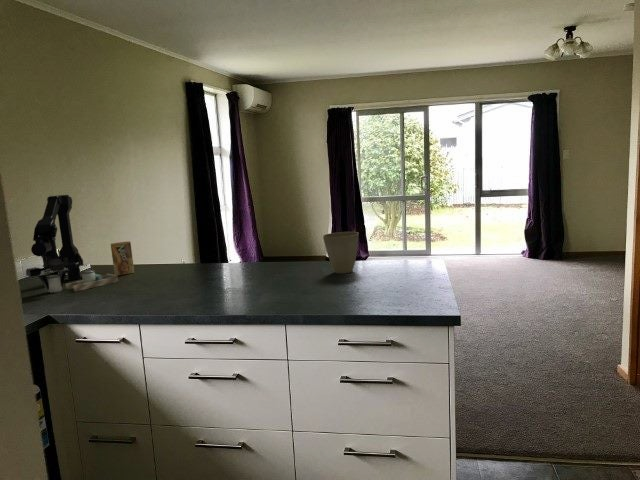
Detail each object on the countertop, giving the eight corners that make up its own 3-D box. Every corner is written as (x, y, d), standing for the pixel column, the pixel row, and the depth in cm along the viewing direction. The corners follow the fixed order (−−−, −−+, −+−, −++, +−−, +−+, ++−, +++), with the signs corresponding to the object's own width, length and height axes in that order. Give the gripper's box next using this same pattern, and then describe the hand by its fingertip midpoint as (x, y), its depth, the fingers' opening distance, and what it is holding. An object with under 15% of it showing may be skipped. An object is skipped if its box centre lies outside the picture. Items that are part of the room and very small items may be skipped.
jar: (46, 291, 222) (44, 276, 221) (59, 289, 226) (56, 274, 225) (51, 293, 219) (48, 277, 218) (63, 290, 222) (61, 275, 221)
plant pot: (362, 267, 224) (360, 230, 222) (359, 275, 210) (356, 236, 207) (328, 268, 227) (326, 232, 225) (322, 276, 213) (320, 237, 210)
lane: (75, 291, 218) (74, 284, 218) (66, 289, 224) (65, 282, 224) (118, 281, 232) (117, 275, 231) (108, 279, 238) (107, 273, 237)
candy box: (133, 271, 254) (129, 240, 252) (134, 273, 250) (130, 241, 248) (114, 274, 250) (110, 243, 248) (115, 275, 246) (110, 244, 244)
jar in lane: (81, 286, 227) (79, 272, 226) (93, 284, 231) (91, 269, 230) (86, 288, 224) (84, 273, 223) (98, 285, 227) (96, 270, 226)
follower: (100, 284, 227) (98, 275, 227) (93, 283, 231) (92, 274, 231) (102, 284, 228) (101, 275, 227) (96, 282, 232) (95, 273, 232)
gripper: (32, 257, 208) (38, 295, 210) (79, 249, 221) (84, 285, 223) (22, 255, 215) (28, 292, 217) (68, 248, 229) (73, 282, 231)
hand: (54, 288), depth 222 cm, fingers closed on jar, 5 cm apart
